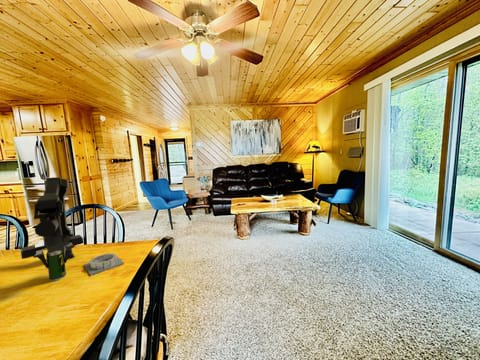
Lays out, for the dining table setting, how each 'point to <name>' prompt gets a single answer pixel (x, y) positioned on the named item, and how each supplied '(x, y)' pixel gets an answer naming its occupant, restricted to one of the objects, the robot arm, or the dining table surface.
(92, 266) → the metal collar
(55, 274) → the beer can
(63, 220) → the robot arm
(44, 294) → the dining table surface
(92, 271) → the socket plate
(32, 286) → the dining table surface
